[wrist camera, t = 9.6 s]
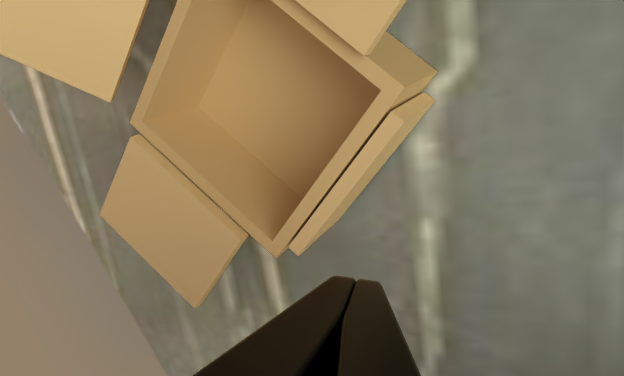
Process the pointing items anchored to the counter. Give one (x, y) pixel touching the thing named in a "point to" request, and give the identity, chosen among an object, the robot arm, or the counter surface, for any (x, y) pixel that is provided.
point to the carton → (260, 129)
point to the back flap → (73, 39)
